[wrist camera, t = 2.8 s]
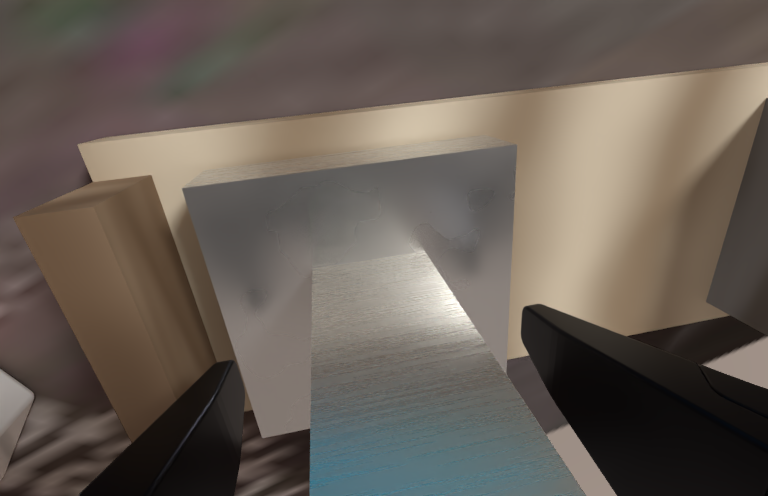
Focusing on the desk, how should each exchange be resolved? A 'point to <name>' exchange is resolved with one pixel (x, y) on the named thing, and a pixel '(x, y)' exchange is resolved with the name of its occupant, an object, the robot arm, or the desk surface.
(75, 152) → the desk surface
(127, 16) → the desk surface
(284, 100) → the desk surface
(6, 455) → the jar
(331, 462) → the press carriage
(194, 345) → the base
